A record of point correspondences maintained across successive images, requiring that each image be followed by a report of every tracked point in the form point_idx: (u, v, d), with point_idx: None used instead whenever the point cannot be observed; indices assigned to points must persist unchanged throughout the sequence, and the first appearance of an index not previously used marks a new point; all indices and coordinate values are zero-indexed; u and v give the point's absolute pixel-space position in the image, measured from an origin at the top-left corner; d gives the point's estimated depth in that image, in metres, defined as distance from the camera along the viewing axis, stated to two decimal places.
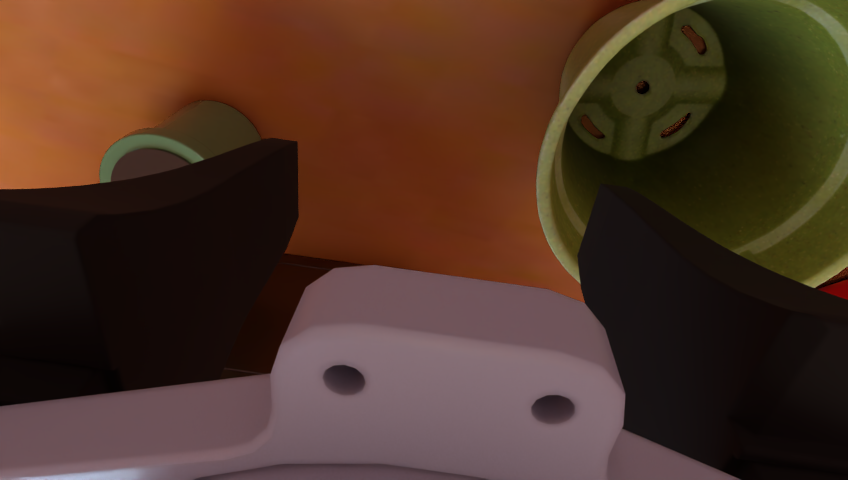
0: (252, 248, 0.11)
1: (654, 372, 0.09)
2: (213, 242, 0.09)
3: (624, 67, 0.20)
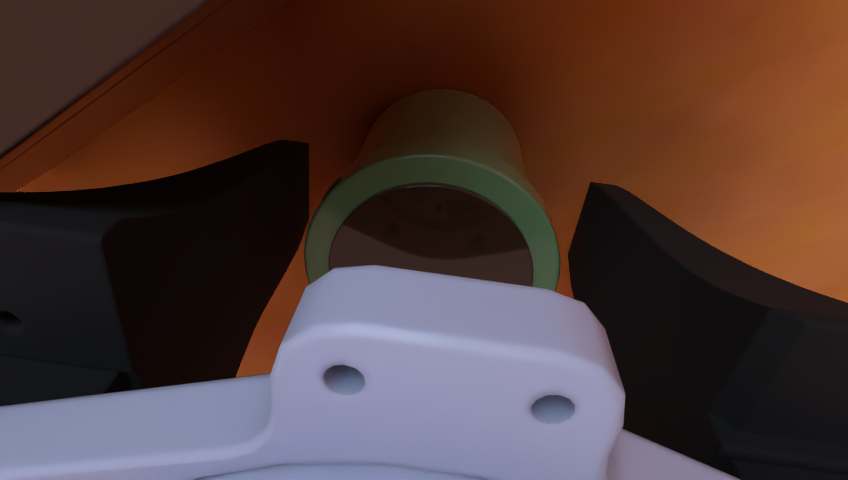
0: (265, 250, 0.11)
1: (640, 371, 0.09)
2: (229, 244, 0.09)
3: None
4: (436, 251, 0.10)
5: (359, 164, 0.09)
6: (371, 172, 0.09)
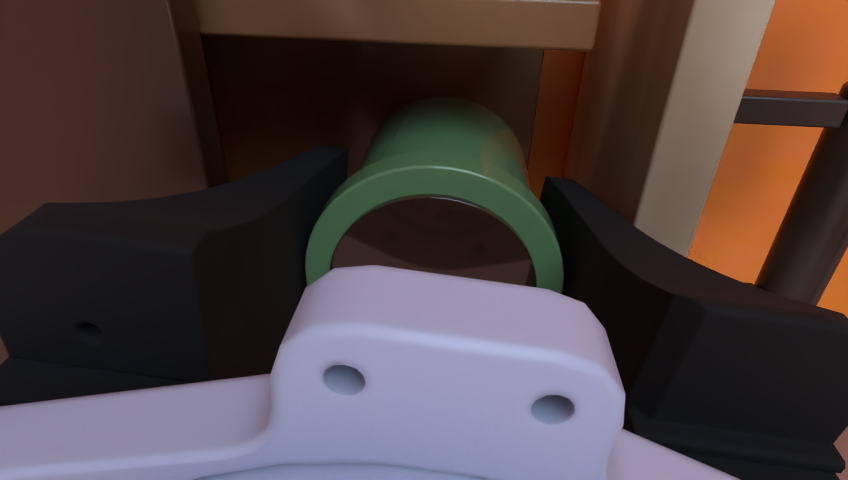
0: None
1: None
2: (285, 252, 0.09)
3: None
4: (437, 263, 0.10)
5: (360, 175, 0.09)
6: (372, 183, 0.09)
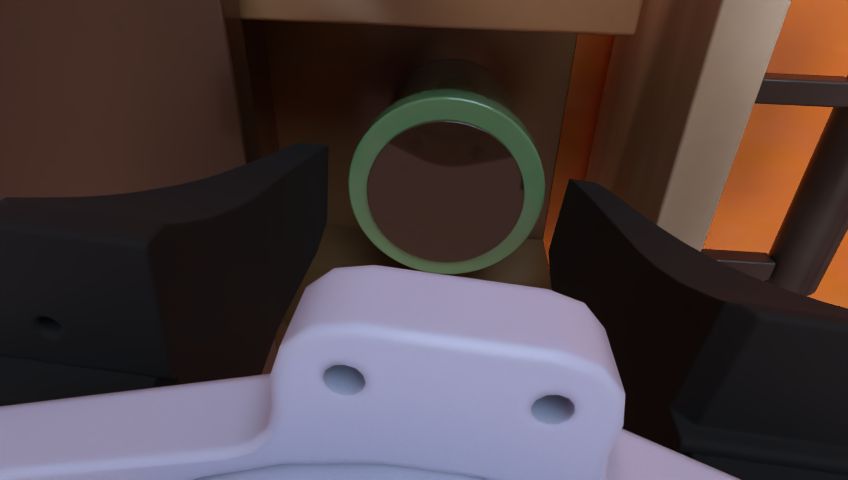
0: (288, 253, 0.11)
1: None
2: (257, 248, 0.09)
3: None
4: (449, 175, 0.13)
5: (392, 107, 0.12)
6: (402, 111, 0.12)
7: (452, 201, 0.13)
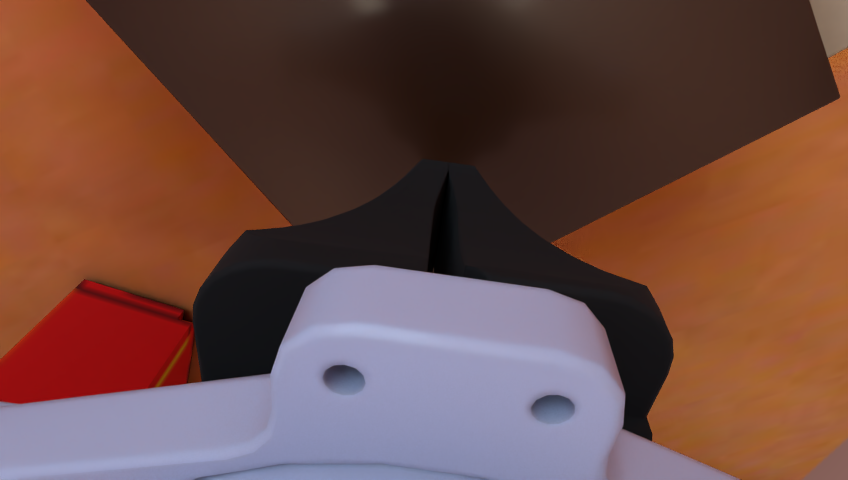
0: None
1: None
2: None
3: None
4: None
5: None
6: None
7: None
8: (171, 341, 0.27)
